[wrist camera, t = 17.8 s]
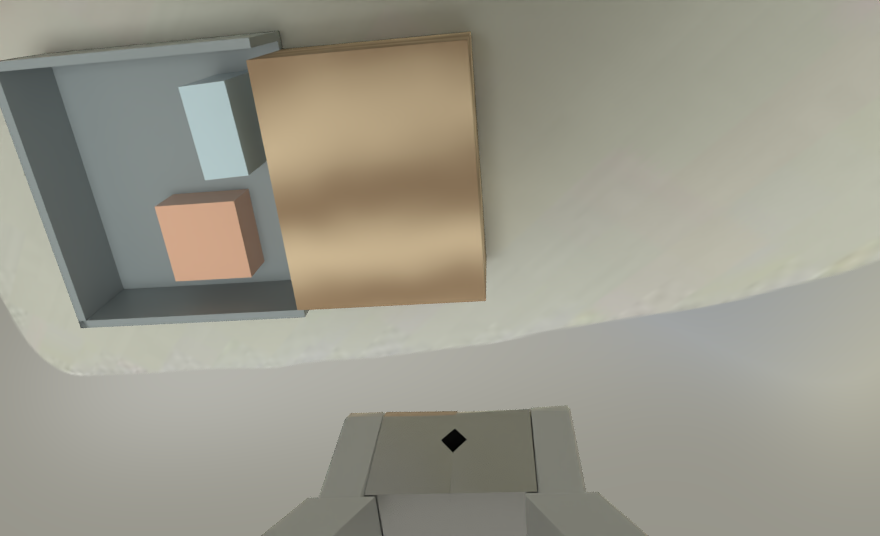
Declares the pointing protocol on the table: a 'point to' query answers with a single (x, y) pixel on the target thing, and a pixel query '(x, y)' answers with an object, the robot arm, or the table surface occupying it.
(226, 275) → the tile terracotta
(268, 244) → the tray
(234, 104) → the tile blue
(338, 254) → the wooden block
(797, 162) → the table surface
